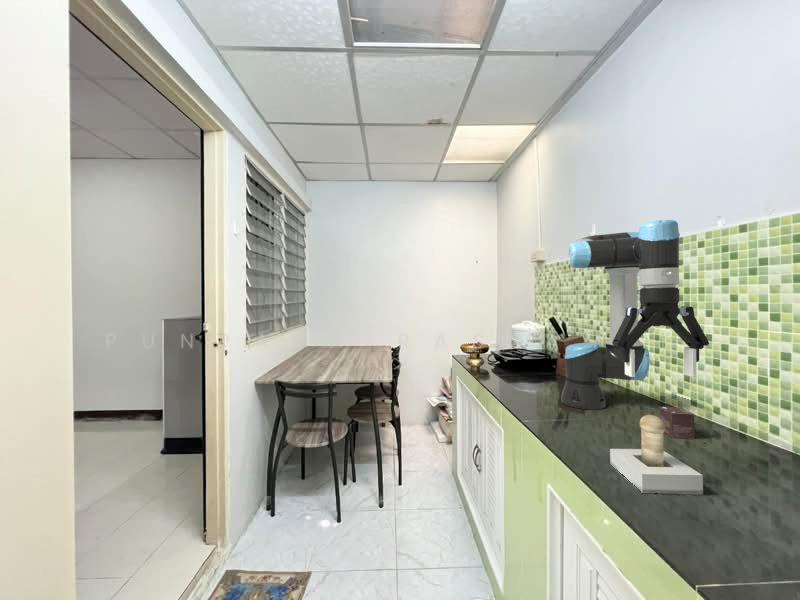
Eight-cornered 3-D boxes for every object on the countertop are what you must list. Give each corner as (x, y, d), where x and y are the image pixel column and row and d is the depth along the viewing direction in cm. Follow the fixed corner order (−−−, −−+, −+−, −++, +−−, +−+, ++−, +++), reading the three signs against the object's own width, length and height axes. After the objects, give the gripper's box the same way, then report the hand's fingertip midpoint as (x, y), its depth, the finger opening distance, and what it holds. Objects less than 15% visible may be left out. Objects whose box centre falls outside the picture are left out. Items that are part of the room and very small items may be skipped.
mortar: (610, 465, 82) (610, 448, 82) (661, 465, 81) (661, 449, 81) (642, 493, 70) (642, 474, 70) (703, 494, 69) (702, 475, 69)
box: (695, 439, 96) (694, 414, 96) (671, 438, 97) (671, 413, 97) (682, 431, 102) (681, 407, 102) (659, 430, 103) (659, 406, 103)
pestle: (635, 469, 78) (634, 411, 78) (656, 470, 78) (655, 412, 78) (649, 480, 74) (648, 418, 74) (671, 480, 73) (670, 419, 73)
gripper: (612, 287, 77) (613, 379, 77) (729, 285, 75) (730, 379, 75) (596, 288, 84) (597, 372, 85) (702, 285, 82) (702, 371, 83)
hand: (659, 375), depth 80 cm, fingers open, 13 cm apart
